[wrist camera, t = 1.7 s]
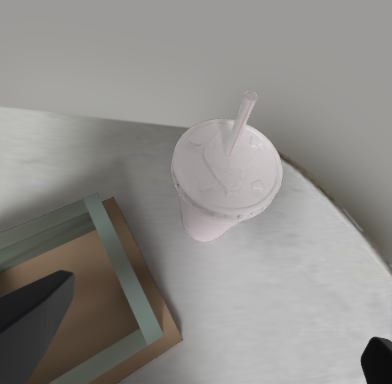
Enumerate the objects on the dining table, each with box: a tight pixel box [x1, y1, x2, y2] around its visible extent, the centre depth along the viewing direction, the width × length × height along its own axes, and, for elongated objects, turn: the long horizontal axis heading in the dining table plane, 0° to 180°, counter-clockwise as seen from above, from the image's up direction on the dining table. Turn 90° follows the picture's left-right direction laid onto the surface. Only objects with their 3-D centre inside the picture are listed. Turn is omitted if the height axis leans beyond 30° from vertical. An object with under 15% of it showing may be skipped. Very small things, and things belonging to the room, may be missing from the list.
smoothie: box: [171, 91, 283, 242], centre depth 18 cm, size 6×6×14 cm
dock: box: [0, 193, 183, 384], centre depth 18 cm, size 12×12×5 cm
